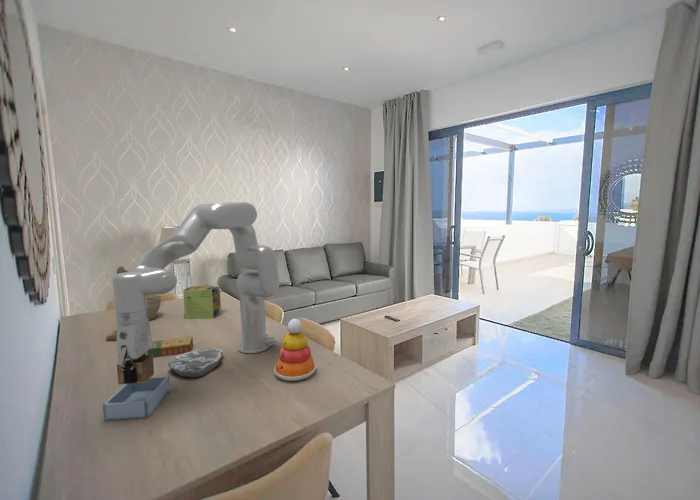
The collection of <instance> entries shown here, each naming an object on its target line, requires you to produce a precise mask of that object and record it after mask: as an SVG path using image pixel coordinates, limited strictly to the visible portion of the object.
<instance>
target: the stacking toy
mask: <svg viewBox="0 0 700 500" xmlns="http://www.w3.org/2000/svg"><path fill="white" fill-rule="evenodd" d="M302 328H303V327H302V322H301V321H300V320H299V319H298V318H292V319H290V320H289V322H288V324H287V331H288V333H287V334H286V335H285V336H284V337H283V339H282V342H281V347H280V350H279V352H278V359H277V360H276V364H275V366H274V368H273V372H274V374H275V376H277V378H279V379H280V380H281V379H282V380H283V381H290V382H291V381H293V382H294V381H300V380H304V379H307V378H309V377H311V376H312V375H313V374H314V373H315V371H316V369H317V365H316V363H315V362H314V359H313V356H312V352H311V351H312V350H311V348H310V345H308V343H309V342H308V339H307V337H306V336H305V334H304V333H302V332H301V331H302Z"/></svg>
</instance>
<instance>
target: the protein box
mask: <svg viewBox="0 0 700 500" xmlns="http://www.w3.org/2000/svg"><path fill="white" fill-rule="evenodd" d="M220 288H221V287H220V285H219V284H218V285H217V284H216V285H215V284H214V285H212V284H211V285H207V284H206V285H205V284H204V285H192V286H188V287H187V288H185V289H183V291H182V293H183V295H182V296H183V310H184V319H187V320H188V319H189V320H190V319H195V320H196V319H205V320H206V319H210V318H211V319H212V318H213V319H215V318H216V317H218V314H219V315H220V314H221V313H222V305H221V304H222V303H221V289H220Z"/></svg>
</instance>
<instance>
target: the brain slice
mask: <svg viewBox="0 0 700 500" xmlns="http://www.w3.org/2000/svg"><path fill="white" fill-rule="evenodd" d="M223 351H224V350H223V349H221V348H202V349H201V348H200V349H197V350H191V352H187V353H184V354H177V355H175V357H174V359H173V360H171V361H169V362H168V364H167V365H168V367H169V368H170V369H171V370H173V371H174V372H175V373H176V374H177V375H179V376H180V377H184V378H185V377H189V378H196V377H197V378H198V377H201V376H202V377H203V376H204V375H205V374H207V373H209V372H210V371H212V370H213V369H215V368H216V367H217V366H218V365H219V364H220V363H221V359H222V356H223Z"/></svg>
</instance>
